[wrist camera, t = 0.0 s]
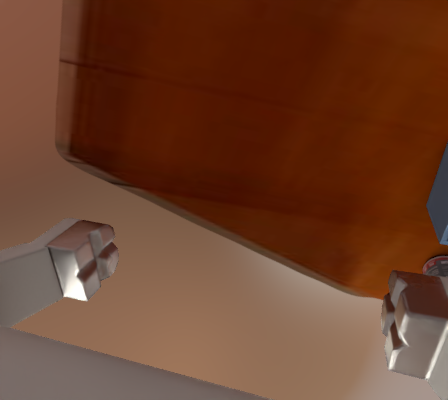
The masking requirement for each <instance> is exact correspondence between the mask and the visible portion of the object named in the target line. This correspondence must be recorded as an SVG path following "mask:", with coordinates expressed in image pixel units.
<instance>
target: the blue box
mask: <svg viewBox="0 0 448 400" xmlns="http://www.w3.org/2000/svg"><path fill="white" fill-rule="evenodd" d="M426 206H427V209H428V212H429V215H430V218H431V220H432V223H433V226H434V229H435V232H436V234H437V237H438V240H439V243H440V244H444V245H448V143H447V146H446V149H445V152H444V154H443V157H442V160H441V163H440V166H439V169H438V172H437V175H436V178H435V181H434V184H433V187H432V190H431V193H430V196H429V199H428V202H427V205H426Z"/></svg>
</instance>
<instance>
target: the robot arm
mask: <svg viewBox="0 0 448 400" xmlns="http://www.w3.org/2000/svg"><path fill="white" fill-rule="evenodd" d="M114 238H115V234H114V230H113V227H111V226H110V225H107V224H102V223H96V222H91V221H86V220H79V219H74V218H66V219H64V220H62V221H61V222H59V223H58V224H57V225H55V226H54V227H52V228H51V229H49V230H48V231H47V232H45V233H44V234H43V235H41V236H40V237H38V238H37V239H35V240H34V241H33V242H31V243H30V244H28V243H24V244H20V245H17V246H14V247H11V248H8V249H5V250H1V251H0V400H273V399H268V398H265V397H262V396H258V395H254V394H251V393H247V392H243V391H240V390H236V389H232V388H229V387H225V386H221V385H217V384H214V383H210V382H207V381H203V380H199V379H196V378H192V377H188V376H185V375H181V374H177V373H174V372H170V371H166V370H163V369H159V368H155V367H152V366H148V365H144V364H141V363H137V362H133V361H129V360H126V359H122V358H119V357H115V356H111V355H108V354H104V353H100V352H97V351H93V350H89V349H86V348H82V347H78V346H74V345H71V344H67V343H64V342H60V341H56V340H53V339H49V338H45V337H42V336H38V335H34V334H31V333H26V332H23V331H20V330H16V329H12V328H10V327H11V326H13V325H15V324H17V323H19V322H21V321H22V320H24V319H26V318H28V317H30V316H31V315H33V314H35V313H37V312H39V311H40V310H42V309H44V308H46V307H48V306H49V305H51V304H53V303H55V302H57V301H58V300H60V299H62V298H63V296H64V297H69V298H74V299H79V300H84V301H88V300H89V299H90V298H91V297H92V296H93V295H94V294H95V292H96V291H97V290H98V289H99V288H100V287H101V281H102V280H104V279H106V278H108V277H110V275H112V273H113V272H114V271H115V269H116V266H117V264H118V257H119V254H118V248H117V247H116V246H115V245H114V244H113V242H112V241H113V240H114ZM388 284H389V290H390V293H388V294H387V295H385V296H384V301H383V305H382V313H381V325H382V332H383V334H384V335H385V336H386V337H387V340H386V343H385V354H386V360H387V367H388V370H389V371H393V372H397V373H401V374H405V375H409V376H413V377H417V378H421V379H424V380H428V383H429V385H430V386H431V387H432V389H433V390H434V391H435V392H436V394H437V395H438V396H439V398H440V399H441V400H448V277H442V276H431V275H424V274H417V273H410V272H404V271H397V270H392V272H391V274H390V278H389V281H388Z"/></svg>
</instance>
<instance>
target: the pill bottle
mask: <svg viewBox="0 0 448 400" xmlns="http://www.w3.org/2000/svg"><path fill="white" fill-rule="evenodd" d="M423 274H424V275H431V276H442V277H448V256H438V257H435V258H432V259H430V260H429V261H428V262H427V263H426V264H425V265H424V267H423Z"/></svg>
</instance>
